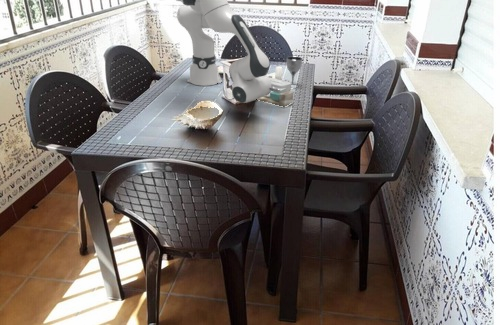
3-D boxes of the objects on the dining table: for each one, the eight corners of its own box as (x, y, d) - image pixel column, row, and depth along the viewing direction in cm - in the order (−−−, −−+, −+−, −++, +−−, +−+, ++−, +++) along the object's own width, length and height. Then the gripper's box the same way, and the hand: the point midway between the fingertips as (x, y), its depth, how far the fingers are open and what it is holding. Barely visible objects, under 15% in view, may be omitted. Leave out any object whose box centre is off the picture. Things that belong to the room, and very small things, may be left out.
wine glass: (285, 88, 212) (287, 59, 205) (284, 84, 219) (286, 56, 212) (300, 88, 212) (303, 60, 205) (298, 84, 219) (301, 56, 212)
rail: (246, 97, 197) (246, 85, 194) (255, 94, 202) (255, 82, 199) (284, 108, 185) (285, 95, 182) (292, 104, 190) (293, 92, 187)
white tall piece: (269, 98, 189) (271, 67, 183) (275, 95, 193) (277, 65, 186) (278, 100, 187) (280, 69, 180) (284, 97, 190) (286, 67, 184)
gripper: (281, 84, 170) (299, 77, 180) (243, 74, 181) (262, 69, 190) (280, 98, 173) (297, 91, 183) (243, 88, 184) (261, 82, 193)
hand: (279, 79), depth 187 cm, fingers open, 8 cm apart
